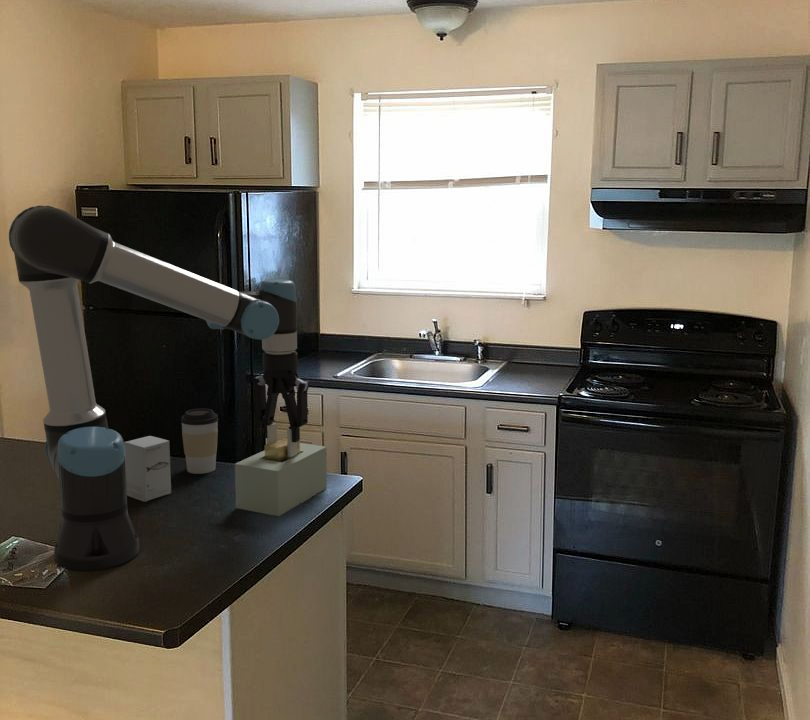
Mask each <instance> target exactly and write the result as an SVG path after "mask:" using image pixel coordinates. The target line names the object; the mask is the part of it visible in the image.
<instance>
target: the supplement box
mask: <svg viewBox="0 0 810 720" xmlns="http://www.w3.org/2000/svg"><path fill="white" fill-rule="evenodd" d="M123 442H124V447H125V451H126V455H125V470H126V490H127V497H130V498H133V499H135V500H139V501H141V502H144V503H146V502H148V501H151V500H153V499H157V498H160V497H164V496H167V495H170V494H171V493H172V481H171V478H172V477H171V475H172V474H171V455H170V454H171V452H170V440H169V439H168V440H167V439H164V438H161V437H156V436H152V435H148V436H143V437H139V438H136V439H132V440H131V439H130V440H128V441H123Z"/></svg>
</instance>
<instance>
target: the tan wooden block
mask: <svg viewBox="0 0 810 720" xmlns="http://www.w3.org/2000/svg"><path fill="white" fill-rule="evenodd" d="M300 443H301V442H300V440H299V441H298V442H297V455H298V454H300ZM264 450H265V458H266V459H270V460H274V461H281V460H284V459H287V458H289V457H288V446H287V437H285V438H282V439H279V440H278V439H277V441H276V442H273V443H270V444H268V443H266V444H264Z"/></svg>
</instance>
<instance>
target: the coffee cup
mask: <svg viewBox="0 0 810 720" xmlns="http://www.w3.org/2000/svg"><path fill="white" fill-rule="evenodd" d="M218 416H219V415H218V414H217V413H215V412H214V410H213V409H211V408H192V409H189V410H186V411H185V413H184V414H183V415H182V416H181V417H180V423H181V434H182V435H181V437H182V443H183V452H184V455H185V463H186V471H187V472H188V473H190V474H194V475H195V474H196V475H198V474H199V475H200V474H201V475H202V474H209V473H211V472H213V471H215V470H216V464H217V461H216V460H217V452H218V451H217V450H218V449H217V448H218V437H219V435H218V432H219V429H218V425H219V424H218V423H219V422H218V421H219V417H218Z"/></svg>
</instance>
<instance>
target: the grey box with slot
mask: <svg viewBox="0 0 810 720" xmlns="http://www.w3.org/2000/svg"><path fill="white" fill-rule="evenodd" d="M327 468H328V467H327V446H323V445H316V444H311V443H304V442H300V454H298V455H295V456H293V457H289V458H287V459H284V460H281V461H274V460H270V459H266V458H265V449H264V450H263V451H260V452H258V453H256V454H253V455H251V456H249V457H247V458H244V459H242V460H241V461H238V462H236V463H234V482H235V484H234V485H235V508H236V509H239V510H245V511H249V512H255V513H259V514H266V515H269V516H275V517H281V516H282V515H284V514H285V513H287V512H289V511H291V510H292V509H294V508H295V507H297V506H299V505H301V504H302V503H305V502H306V501H307V500H309V499H311V498H312V496H313V497H315V496H316V495H318V494H319V493H321V492H322V491H324V490H327V487H328V486H327V485H328V484H327V483H328V482H327V481H328V480H327V476H328V474H327ZM317 493H318V494H317ZM300 503H301V504H300Z"/></svg>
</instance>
